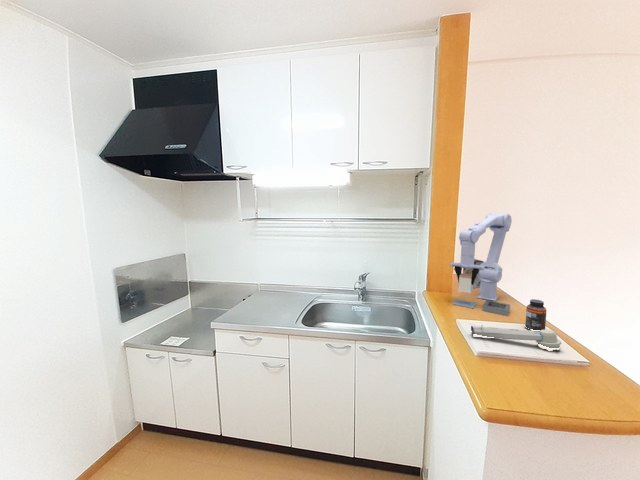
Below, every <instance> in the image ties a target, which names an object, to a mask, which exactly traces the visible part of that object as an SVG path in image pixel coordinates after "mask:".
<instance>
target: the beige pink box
mask: <svg viewBox="0 0 640 480" xmlns="http://www.w3.org/2000/svg"><path fill="white" fill-rule="evenodd" d="M471 281H472V275H471V274H464V273H463V272H461V274H460V275H459V282H458V292H460V293H466V294H471V293H472V292H473V290H474V288H473V285H472V284H471Z"/></svg>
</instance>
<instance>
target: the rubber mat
mask: <svg viewBox="0 0 640 480" xmlns="http://www.w3.org/2000/svg"><path fill="white" fill-rule="evenodd" d="M451 304H452V305H453V306H458V307H463V308H468V309H474V308H475V307H476V306H477V304H478V302H475V301H469V300H464V299H459V298H456V299H455V300H454V301H453V302H452V303H451Z"/></svg>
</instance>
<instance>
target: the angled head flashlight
mask: <svg viewBox="0 0 640 480" xmlns="http://www.w3.org/2000/svg"><path fill="white" fill-rule="evenodd" d="M470 330H471V331H472V332H471V335H472V334H477V335H482V336H487V337H494V338H502V339H501V340H514V341H515V340H518V341H534V342H536V343H538V344H541V345H543V346H546V347H549V348H559V347H560V346H561V345H562V341H561V340H560V339H558V336H557V333H556V332H555V331H553V330H550V329H545V330H540V331H531V330H528V329H519V328H506V327H504V328H503V327H494V326H483V325H482V324H481V326H480V325H477V326H476V325H471V326H470ZM538 344H537V345H538ZM560 348H561V347H560Z"/></svg>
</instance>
